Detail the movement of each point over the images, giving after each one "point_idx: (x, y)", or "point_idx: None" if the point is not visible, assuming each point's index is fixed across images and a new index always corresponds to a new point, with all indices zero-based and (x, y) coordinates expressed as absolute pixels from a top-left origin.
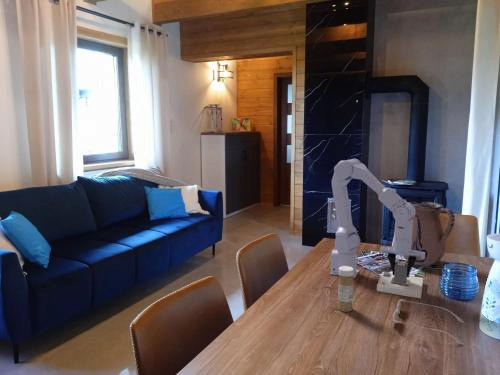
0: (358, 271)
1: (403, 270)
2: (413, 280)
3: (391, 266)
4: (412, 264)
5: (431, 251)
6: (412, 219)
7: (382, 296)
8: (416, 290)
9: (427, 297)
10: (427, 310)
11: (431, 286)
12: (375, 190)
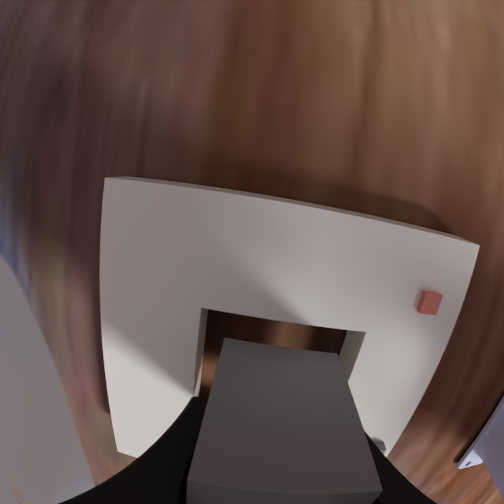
0: (461, 459)
1: (249, 443)
2: (168, 419)
3: (403, 477)
4: (89, 502)
5: None
6: None
7: (425, 139)
8: (138, 221)
9: (86, 215)
10: (121, 4)
11: (82, 392)
12: None
